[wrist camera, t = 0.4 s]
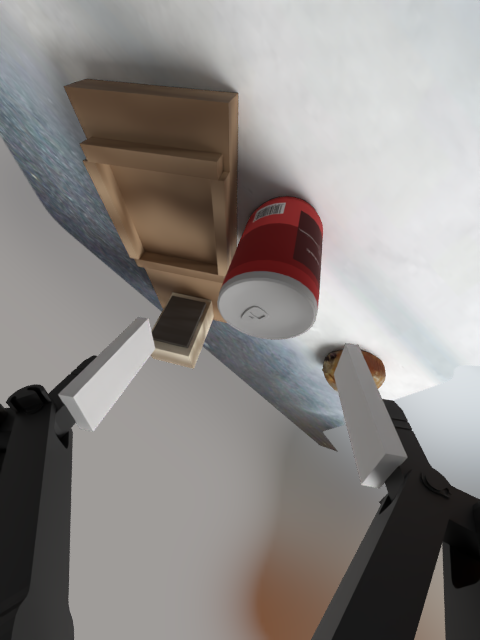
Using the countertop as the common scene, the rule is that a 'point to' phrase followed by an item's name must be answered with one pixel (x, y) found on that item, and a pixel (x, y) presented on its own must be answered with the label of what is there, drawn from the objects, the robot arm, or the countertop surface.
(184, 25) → the countertop surface
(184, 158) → the wooden tray stand
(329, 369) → the bread roll
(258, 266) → the canned food
